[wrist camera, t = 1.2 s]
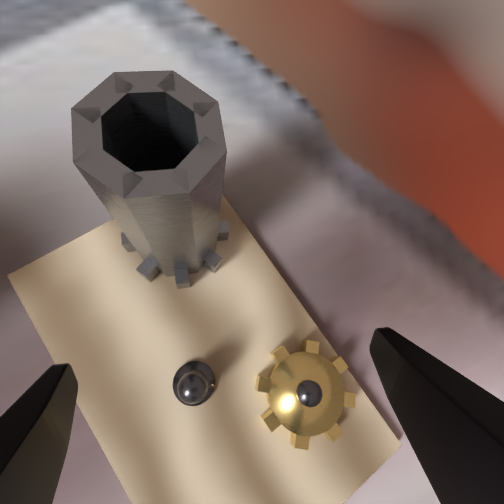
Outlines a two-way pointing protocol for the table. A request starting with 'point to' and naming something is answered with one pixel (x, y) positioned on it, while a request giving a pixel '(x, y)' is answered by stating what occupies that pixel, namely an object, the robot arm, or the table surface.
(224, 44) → the table surface
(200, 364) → the steel peg
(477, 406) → the robot arm
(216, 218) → the grey octagonal tube
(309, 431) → the brass gear
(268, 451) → the gear board
